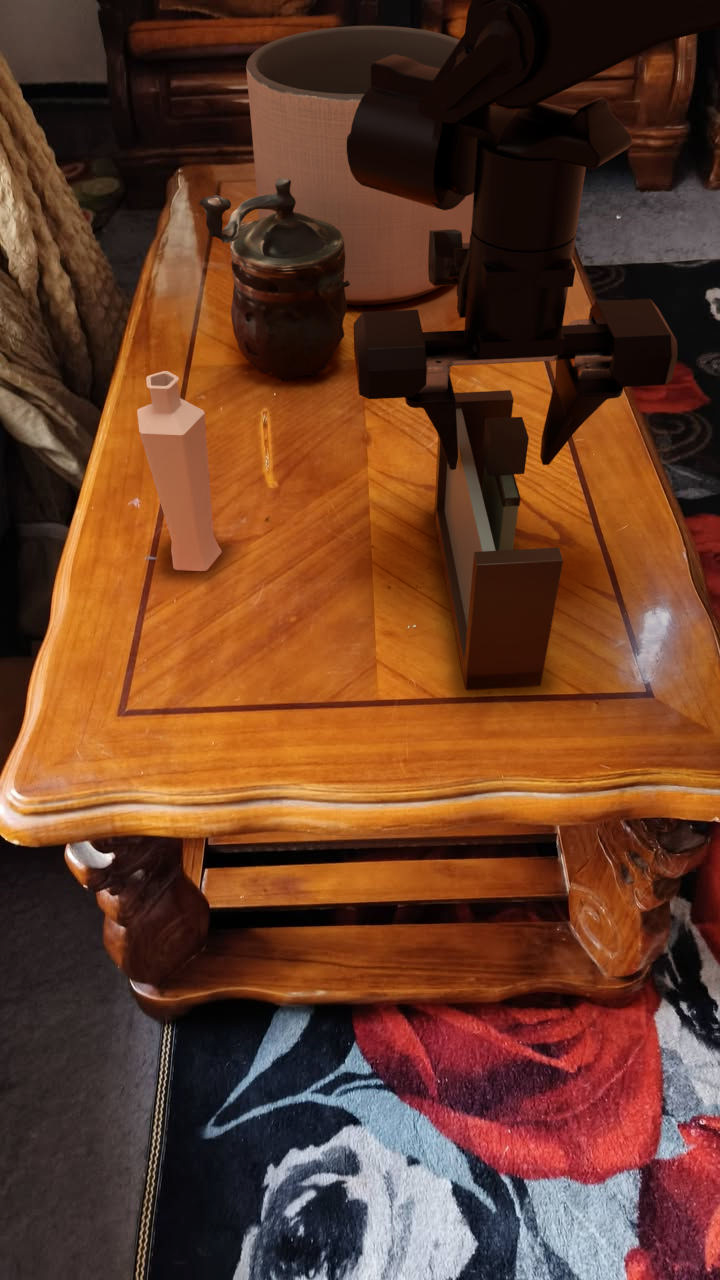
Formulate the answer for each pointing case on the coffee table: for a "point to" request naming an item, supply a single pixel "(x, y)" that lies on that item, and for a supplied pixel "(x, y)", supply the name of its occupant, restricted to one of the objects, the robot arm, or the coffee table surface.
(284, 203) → the coffee grinder
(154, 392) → the perfume bottle
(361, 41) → the planter
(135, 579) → the coffee table surface
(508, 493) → the pane
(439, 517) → the window frame
